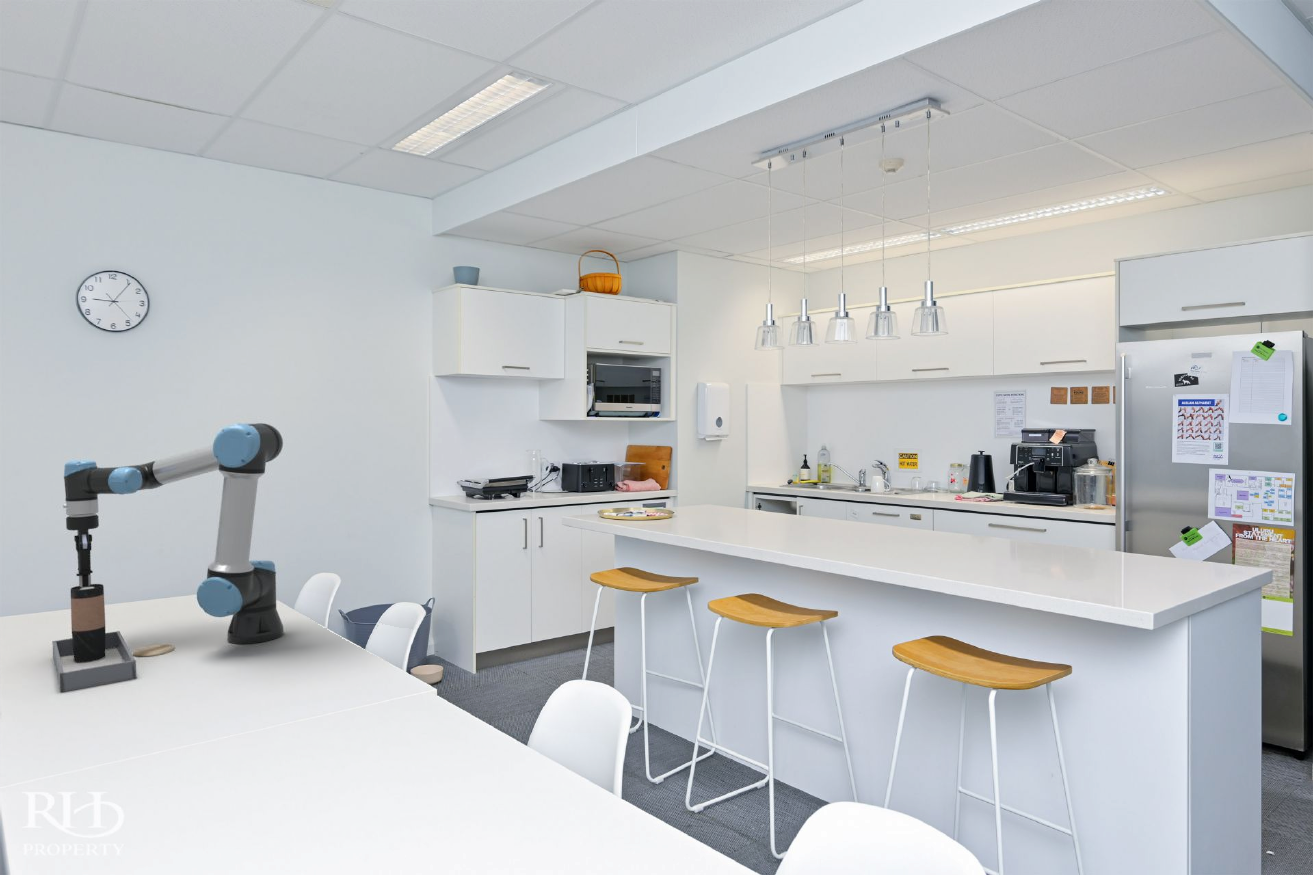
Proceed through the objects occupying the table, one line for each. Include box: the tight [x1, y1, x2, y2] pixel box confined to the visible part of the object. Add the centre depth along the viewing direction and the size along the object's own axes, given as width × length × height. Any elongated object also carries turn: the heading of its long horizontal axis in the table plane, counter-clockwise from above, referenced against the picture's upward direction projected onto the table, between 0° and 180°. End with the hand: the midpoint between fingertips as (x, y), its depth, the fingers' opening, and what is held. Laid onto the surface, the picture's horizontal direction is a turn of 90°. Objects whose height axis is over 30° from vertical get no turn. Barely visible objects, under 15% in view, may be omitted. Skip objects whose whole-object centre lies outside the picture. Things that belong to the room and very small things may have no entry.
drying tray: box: [51, 630, 137, 693], centre depth 216 cm, size 37×16×4 cm, turn 39°
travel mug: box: [70, 583, 106, 663], centre depth 223 cm, size 8×8×20 cm
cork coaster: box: [132, 644, 175, 658], centre depth 229 cm, size 10×10×1 cm
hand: (85, 597), depth 230 cm, fingers closed
